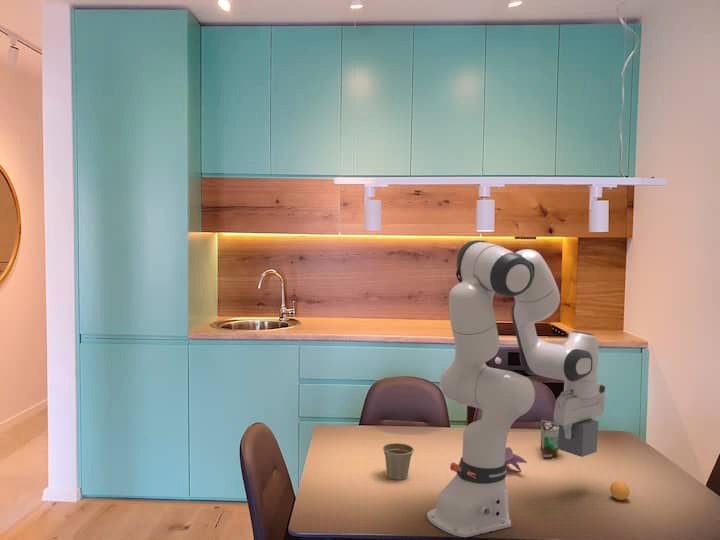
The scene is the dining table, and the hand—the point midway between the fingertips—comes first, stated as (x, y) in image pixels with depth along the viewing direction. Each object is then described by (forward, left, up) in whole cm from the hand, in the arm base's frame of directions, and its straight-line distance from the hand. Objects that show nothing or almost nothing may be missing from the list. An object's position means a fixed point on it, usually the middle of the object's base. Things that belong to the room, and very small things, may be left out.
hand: (578, 435), depth 172 cm
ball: (+6, -10, -14) cm, 18 cm away
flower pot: (-36, +37, -17) cm, 54 cm away
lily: (-4, +22, -17) cm, 28 cm away
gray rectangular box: (0, 0, -4) cm, 4 cm away
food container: (+19, +22, -17) cm, 34 cm away
